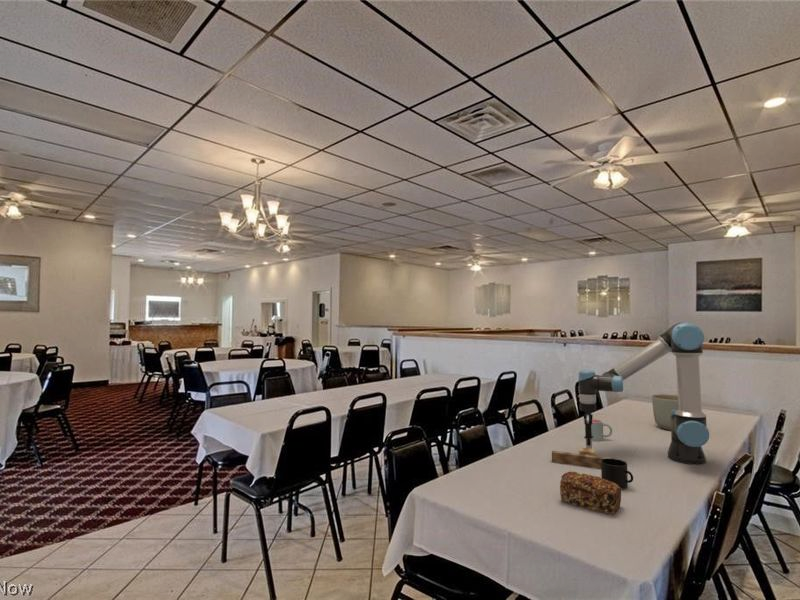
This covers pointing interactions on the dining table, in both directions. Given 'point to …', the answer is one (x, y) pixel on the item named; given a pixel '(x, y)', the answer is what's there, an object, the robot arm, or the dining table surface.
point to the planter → (664, 409)
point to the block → (586, 451)
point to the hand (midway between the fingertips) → (589, 451)
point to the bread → (590, 492)
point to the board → (577, 459)
